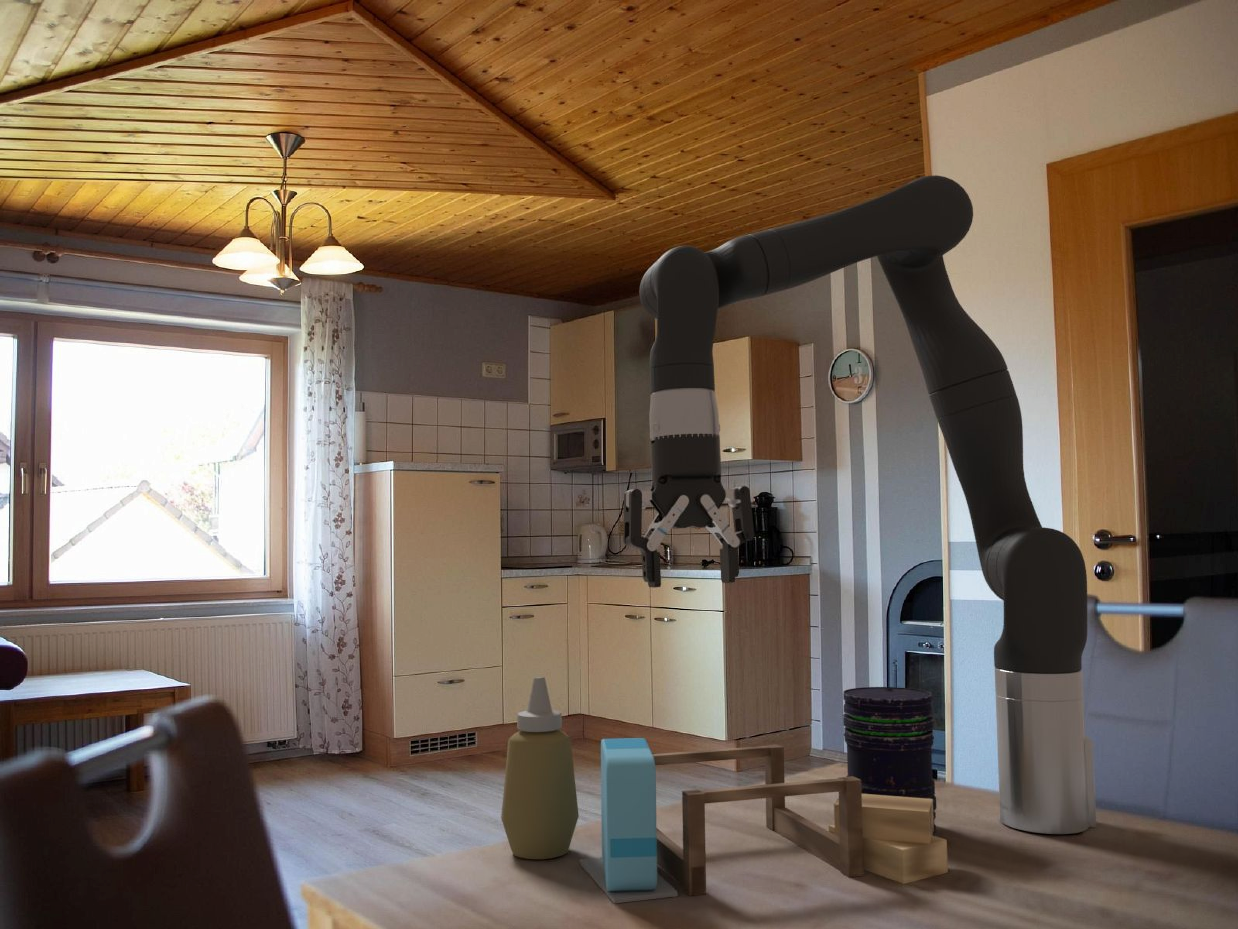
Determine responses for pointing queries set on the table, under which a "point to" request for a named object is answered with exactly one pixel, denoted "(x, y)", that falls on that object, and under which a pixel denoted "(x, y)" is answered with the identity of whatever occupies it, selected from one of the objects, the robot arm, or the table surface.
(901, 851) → the offcut lower
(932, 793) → the dark navy cylinder
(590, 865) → the mat
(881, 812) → the offcut upper
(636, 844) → the blue rounded block
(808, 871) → the table surface
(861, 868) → the frame
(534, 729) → the squeeze bottle
